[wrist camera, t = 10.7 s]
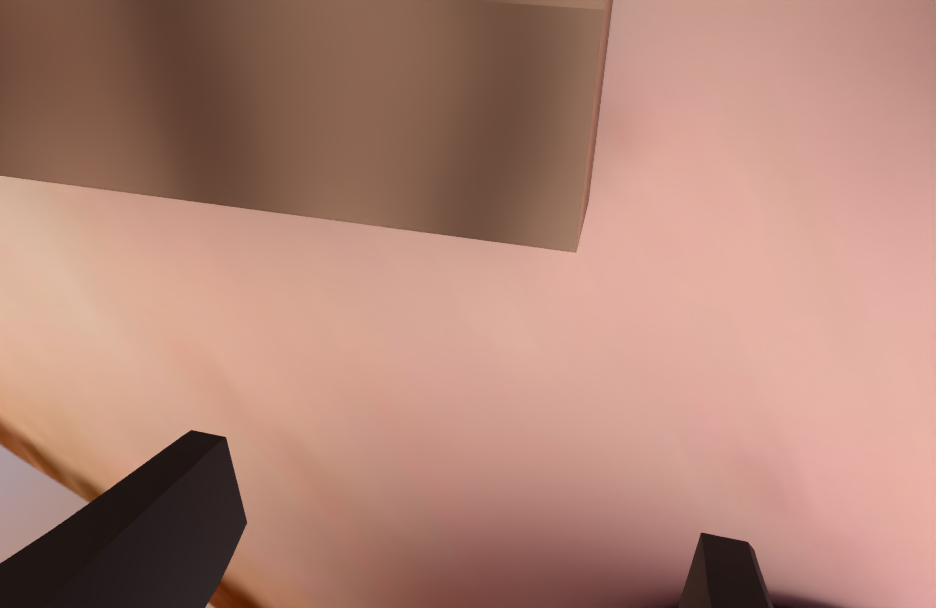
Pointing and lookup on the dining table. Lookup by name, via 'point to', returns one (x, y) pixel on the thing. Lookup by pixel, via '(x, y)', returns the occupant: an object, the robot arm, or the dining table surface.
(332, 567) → the dining table surface
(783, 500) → the dining table surface
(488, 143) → the block with rectangular hole
